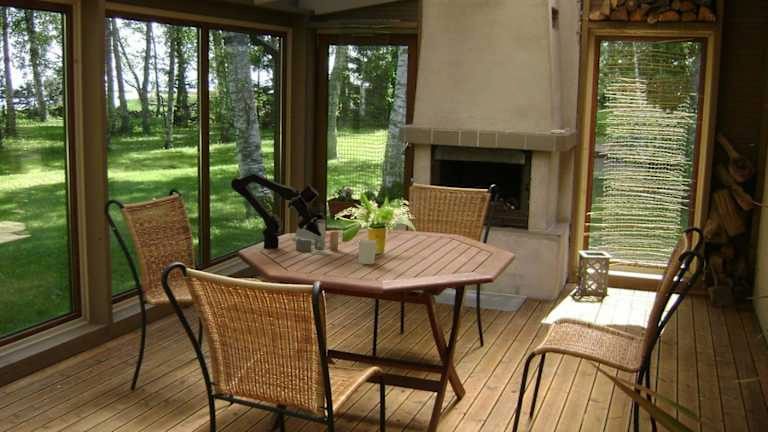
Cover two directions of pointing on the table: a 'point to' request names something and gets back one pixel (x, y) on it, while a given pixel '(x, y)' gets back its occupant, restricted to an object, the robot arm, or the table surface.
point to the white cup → (367, 251)
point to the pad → (319, 252)
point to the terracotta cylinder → (333, 241)
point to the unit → (303, 244)
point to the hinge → (304, 235)
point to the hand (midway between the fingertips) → (322, 235)
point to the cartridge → (321, 239)
